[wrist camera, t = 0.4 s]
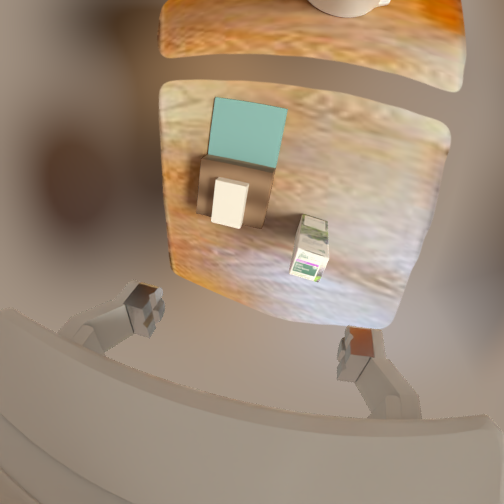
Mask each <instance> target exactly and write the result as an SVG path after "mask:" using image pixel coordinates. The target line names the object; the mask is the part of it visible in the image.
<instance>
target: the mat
mask: <svg viewBox="0 0 504 504" xmlns="http://www.w3.org/2000/svg"><path fill="white" fill-rule="evenodd" d="M287 110H288V109H284V108H279V107H274V106H269V105H264V104H258V103H252V102H246V101H240V100H233V99H226V98H218V97H215V103H214V111H213V118H212V125H211V133H210V141H209V150H208V154H209V155H215V156H220V157H225V158H231V159H236V160H241V161H245V162H250V163H255V164H259V165H264V166H268V167H273V168H276V164H277V159H278V155H279V150H280V145H281V140H282V135H283V130H284V125H285V120H286V115H287Z"/></svg>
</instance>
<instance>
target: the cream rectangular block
mask: <svg viewBox="0 0 504 504" xmlns="http://www.w3.org/2000/svg"><path fill="white" fill-rule="evenodd" d="M248 187H249V183H245V182H241V181H236V180H231V179H227V178H222V177H218V178H217V179H216V181H215V190H214V199H213V208H212V217H211V222H214V223H218V224H222V225H226V226H230V227H234V228H238V229H240V228H241V226H242V223H243V217H244V211H245V205H246V199H247V193H248Z"/></svg>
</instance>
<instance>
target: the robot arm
mask: <svg viewBox="0 0 504 504" xmlns="http://www.w3.org/2000/svg"><path fill="white" fill-rule="evenodd" d="M308 1H309V2H310V3H311V4H312V5H313V6H315V7H316V8H318V9H319V10H321V11H323V12H325V13H328V14H330V15H334V16H338V17H357V16H361V15H364V14H366V13H368V12H369V11H371V10H372V9H374V8H375V7H379V6H385V5H388V4H389V3H390V0H308ZM162 295H163V291H162V288H160V287H157V286H153V285H150V284H146V283H143V282H139V281H135V280H131V281H129V283H128V284H127V285H126V286H125V287H124V289H123V290H122V291H121V292H120V293H119V295H118V296H117V297H116V298H115V299H114V300H113V301H112V300H110V301H107V302H105V303H102V304H100V305H98V306H95V307H93V308H91V309H88V310H86V311H84V312H81V313H79V314H76V315H74V316H72V317H70V318H69V320H68V321H67V322H66V323H65V324H64V326H63V327H62V328H61V329H60V330H59V332H58V333H56V332H54V331H52V330H50V329H48V328H46V327H44V326H43V325H41V324H39V323H37V322H36V321H34V320H32V319H30V318H29V317H27V316H25V315H24V314H22V313H21V312H19V311H17V310H16V309H14V308H10V307H9V308H5V309H1V310H0V504H504V433H503V432H502V431H501V429H500V428H499V427H498V426H497V424H496V423H495V422H494V421H493V420H492V419H491V418H490V417H489V416H488V415H485V414H481V415H472V416H463V417H451V418H436V419H422V416H421V408H420V401H419V395H418V394H417V393H416V392H415V390H414V389H413V388H412V387H411V385H410V384H409V383H408V382H407V380H406V379H405V378H404V377H403V375H402V374H401V373H400V372H399V371H398V369H397V368H396V367H395V366H394V364H393V363H392V362H391V361H390V360H389V359H386V353H385V346H384V340H383V334H382V331H381V330H379V329H371V328H370V329H369V328H363V327H356V326H349V325H348V326H347V327H346V330H345V337H344V338H342V339H341V341H340V344H339V348H338V353H337V360H338V361H339V362H340V363H339V365H338V367H337V380H340V381H347V382H354V383H355V384H356V386H357V388H358V390H359V391H360V393H361V395H362V397H363V398H364V400H365V402H366V404H367V406H368V408H369V409H370V411H371V414H370V416H368V417H367V418H352V417H339V416H330V415H321V414H313V413H306V412H299V411H292V410H286V409H280V408H274V407H269V406H264V405H259V404H254V403H249V402H244V401H240V400H236V399H231V398H227V397H224V396H219V395H216V394H212V393H208V392H205V391H201V390H198V389H194V388H191V387H187V386H184V385H181V384H178V383H175V382H172V381H168V380H166V379H163V378H160V377H157V376H154V375H151V374H148V373H146V372H143V371H140V370H138V369H135V368H131V367H130V366H127V365H125V364H122V363H120V362H117V361H115V360H112V359H110V358H108V357H106V355H105V352H106V351H108V350H109V349H111V348H113V347H114V346H116V345H117V344H119V343H120V342H122V341H123V340H125V339H127V338H129V337H130V336H132V335H133V334H138V335H141V336H144V337H148V338H150V337H151V335H152V334H153V332H154V330H155V329H156V326H155V323H157V322H160V321H161V319H162V317H163V314H164V311H165V304H164V301H163V300H162V298H161V297H162Z"/></svg>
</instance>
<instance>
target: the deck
mask: <svg viewBox="0 0 504 504" xmlns="http://www.w3.org/2000/svg"><path fill="white" fill-rule="evenodd" d="M275 169H276V168H273V167H268V166H264V165H259V164H255V163H250V162H245V161H241V160H236V159H231V158H225V157H220V156H215V155H209V154H208V155H206V156H205V157H203V158H201V166H200V176H199V187H198V199H197V211H196V213H197V214H201V215H206V216H210V217H212V208H213V199H214V190H215V181H216V179H217V178H218V177H222V178H227V179H231V180H236V181H241V182H245V183H249V187H248V193H247V199H246V205H245V211H244V217H243V223H242V224H243V225H247V226H251V227H255V228H259V229H262V226H263V224H264V221H265V217H266V212H267V208H268V203H269V198H270V193H271V188H272V184H273V179H274V174H275Z"/></svg>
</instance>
